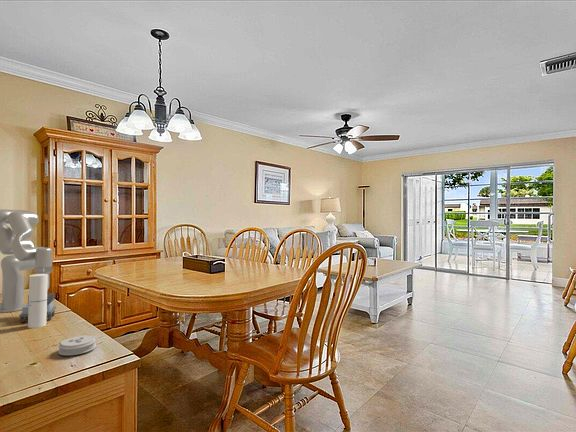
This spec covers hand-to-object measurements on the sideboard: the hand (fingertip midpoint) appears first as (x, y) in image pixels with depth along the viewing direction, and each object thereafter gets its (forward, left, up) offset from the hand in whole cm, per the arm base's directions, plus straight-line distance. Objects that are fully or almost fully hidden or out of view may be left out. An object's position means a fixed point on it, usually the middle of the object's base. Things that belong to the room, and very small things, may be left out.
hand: (42, 303), depth 174 cm
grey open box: (+1, -9, -6) cm, 11 cm away
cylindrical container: (+6, -21, -7) cm, 23 cm away
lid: (+34, -61, -7) cm, 70 cm away
